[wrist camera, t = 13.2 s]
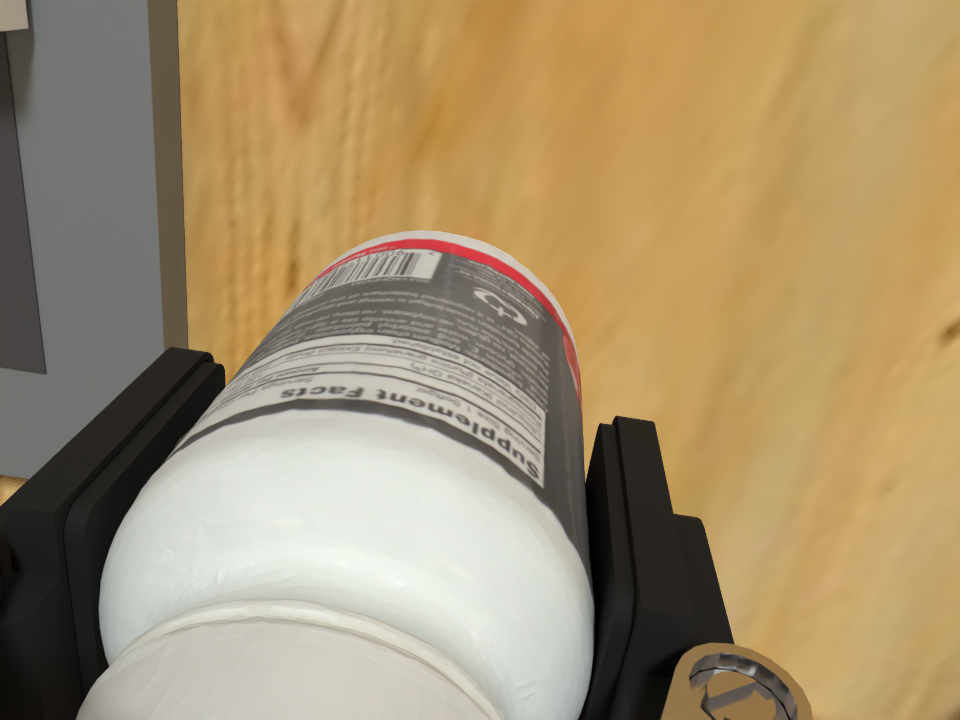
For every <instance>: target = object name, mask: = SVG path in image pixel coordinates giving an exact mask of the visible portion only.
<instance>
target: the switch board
mask: <svg viewBox="0 0 960 720" xmlns="http://www.w3.org/2000/svg"><path fill="white" fill-rule="evenodd" d="M25 2H26V11H27V20H28V28H27V29H18V30H9V31H0V474H1V475H7V476H13V477H19V478H25V479H30V478H31V477H32V476H33V475H34V474H35V473H36V472H37V471H38V470H40V469H41V468H42V467H43V466H44V465H45V464H46V463H47V462H48V461H49V460H50V459H51V458H52V457H53V456H54V455H55V454H56V453H58V452H59V451H60V450H61V449H62V448H63V447H64V446H65V445H66V444H67V443H68V442H69V441H70V440H71V439H72V438H73V437H74V436H76V435H77V434H78V433H79V432H80V431H81V430H82V429H83V428H84V427H85V426H86V425H87V424H88V423H89V422H91V421H92V420H93V419H94V418H95V417H96V416H97V415H98V414H99V413H100V412H101V411H102V410H103V409H104V408H105V407H106V406H107V405H109V404H110V403H111V402H112V401H113V400H114V399H115V398H116V397H117V396H118V395H119V394H120V393H121V392H122V391H123V390H124V389H125V388H127V387H128V386H129V385H130V384H131V383H132V382H133V381H134V380H135V379H136V378H137V377H138V376H139V375H140V374H141V373H142V372H143V371H145V370H146V369H147V368H148V367H149V366H150V365H151V364H152V363H153V362H154V361H155V360H156V359H157V358H158V357H159V356H160V355H161V354H163V353H164V352H165V351H166V350H167V349H168V348H170V347H177V348H183V349H188V332H187V301H186V271H185V240H184V210H183V179H182V149H181V118H180V88H179V57H178V27H177V0H25Z"/></svg>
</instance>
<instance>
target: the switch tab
mask: <svg viewBox="0 0 960 720" xmlns="http://www.w3.org/2000/svg"><path fill="white" fill-rule="evenodd" d="M27 28H28V20H27V11H26V2H25V0H0V31H9V30H18V29H27Z"/></svg>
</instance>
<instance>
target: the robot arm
mask: <svg viewBox="0 0 960 720" xmlns="http://www.w3.org/2000/svg"><path fill="white" fill-rule="evenodd" d="M224 388H225V369H224V366H223V365H222V364H217V363H214V359H213V356H212V355H211V353H209V352H202V351H196V350H189V349H183V348H177V347H170V348H168V349H167V350H166V351H165V352H164V353H163V354H161V355H160V356H159V357H158V358H157V359H156V360H155V361H154V362H153V363H152V364H151V365H150V366H149V367H148V368H147V369H146V370H145V371H143V372H142V373H141V374H140V375H139V376H138V377H137V378H136V379H135V380H134V381H133V382H132V383H131V384H130V385H129V386H128V387H127V388H125V389H124V390H123V391H122V392H121V393H120V394H119V395H118V396H117V397H116V398H115V399H114V400H113V401H112V402H111V403H110V404H109V405H107V406H106V407H105V408H104V409H103V410H102V411H101V412H100V413H99V414H98V415H97V416H96V417H95V418H94V419H93V420H92V421H91V422H89V423H88V424H87V425H86V426H85V427H84V428H83V429H82V430H81V431H80V432H79V433H78V434H77V435H76V436H74V437H73V438H72V439H71V440H70V441H69V442H68V443H67V444H66V445H65V446H64V447H63V448H62V449H61V450H60V451H59V452H58V453H56V454H55V455H54V456H53V457H52V458H51V459H50V460H49V461H48V462H47V463H46V464H45V465H44V466H43V467H42V468H41V469H40V470H38V471H37V472H36V473H35V474H34V475H33V476H32V477H31V478H30V479H29V480H28V481H27V482H26V483H25V484H24V485H23V486H22V487H20V488H19V489H18V490H17V491H16V492H15V493H14V494H13V495H12V496H11V497H10V498H9V499H8V500H7V501H6V502H5V503H4V504H2V505H1V506H0V720H76V718H77V715H78V712H79V709H80V708H81V706H82V704H83V702H84V700H85V698H86V696H87V695H88V693H89V691H90V689H91V688H92V686H93V685H94V683H95V682H96V680H97V679H98V678H99V677H100V676H101V675H102V674H103V673H104V672H105V671H106V670H107V669H108V668H109V664H108V661H107V659H106V656H105V651H104V647H103V642H102V637H101V631H100V621H99V599H100V585H101V578H102V573H103V569H104V565H105V562H106V559H107V555H108V552H109V549H110V546H111V544H112V542H113V539H114V537H115V535H116V532H117V530H118V528H119V526H120V524H121V523H122V521H123V519H124V517H125V515H126V514H127V512H128V511H129V509H130V508H131V506H132V505H133V503H134V501H135V500H136V498H137V496H138V495H139V493H140V491H141V489H142V488H143V487H144V485H145V484H146V483H147V482H148V480H149V479H150V478H151V476H152V475H153V474H154V473H155V472H156V471H157V470H158V469H159V468H160V467H161V466H162V464H163V463H164V462H165V460H166V459H167V458H168V457H169V455H170V454H171V453H172V452H173V450H174V448H175V446H176V444H177V442H178V441H179V439H180V438H181V437H182V436H184V435H185V434H186V433H187V432H188V431H189V430H191V429H192V428H193V426H194V425H195V424H196V423H197V421H198V420H199V419H200V418H201V416H202V415H203V414H204V413H205V412H206V410H207V409H208V408H209V407H210V405H211V404H212V402H213V401H214V400H215V398H216V397H217V396H218V395H219V394H220V393H221V392H222V391H223V390H224ZM585 488H586V507H587V522H588V533H589V547H590V560H591V569H592V581H593V594H594V601H595V608H596V620H595V637H594V655H593V664H592V672H591V679H590V684H589V689H588V693H587V696H586V699H585V702H584V705H583V708H582V711H581V714H580V716H579V718H578V720H813V718H812V711H811V705H810V703H809V701H808V699H807V697H806V695H805V694H804V692H803V690H802V688H801V687H800V686H799V685H798V683H797V682H796V681H795V680H794V679H793V678H792V677H791V675H790V674H789V673H788V672H787V671H785V670H784V669H783V668H781V667H780V666H779V665H777V664H776V663H775V662H773V661H772V660H771V659H769V658H767V657H765V656H763V655H761V654H759V653H757V652H755V651H753V650H751V649H748V648H744V647H741V646H737V645H735V644H734V641H733V637H732V633H731V629H730V625H729V621H728V617H727V614H726V610H725V606H724V602H723V598H722V594H721V590H720V587H719V583H718V579H717V575H716V571H715V567H714V563H713V560H712V556H711V552H710V548H709V544H708V540H707V536H706V532H705V529H704V526H703V523H702V521H701V520H700V519H699V518H697V517H691V516H685V515H678V514H673V509H672V505H671V500H670V495H669V490H668V485H667V481H666V476H665V471H664V466H663V461H662V456H661V452H660V447H659V442H658V437H657V432H656V428H655V424H654V422H652V421H646V420H640V419H633V418H627V417H621V416H615V418H614V420H613V422H612V425H609V424H602V423H600V424H599V426H598V429H597V433H596V438H595V442H594V447H593V451H592V456H591V460H590V465H589V469H588V474H587V478H586V483H585Z"/></svg>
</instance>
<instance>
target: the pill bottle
mask: <svg viewBox="0 0 960 720" xmlns="http://www.w3.org/2000/svg"><path fill="white" fill-rule="evenodd" d="M595 620H596V608H595V601H594V594H593V581H592V569H591V560H590V547H589V533H588V522H587V507H586V488H585V471H584V439H583V420H582V394H581V380H580V371H579V361H578V354H577V348H576V344H575V339H574V336H573V333H572V331H571V328H570V325H569V323H568V321H567V319H566V317H565V315H564V313H563V311H562V308H561V307H560V305H559V303H558V302H557V300H556V299H555V298H554V296H553V295H552V294H551V292H550V291H549V290H548V288H547V287H546V286H545V285H544V284H543V283H542V282H541V281H540V280H539V279H538V278H537V277H536V276H535V275H534V274H533V273H532V272H531V271H530V270H528V269H527V268H525V267H524V266H523V265H521V264H520V263H518V262H517V261H516V260H515V259H514V258H513V257H512V256H511V255H509V254H507V253H505V252H503V251H501V250H500V249H498V248H496V247H494V246H492V245H490V244H487V243H485V242H483V241H479V240H475V239H472V238H469V237H465V236H461V235H456V234H451V233H446V232H440V231H425V230H417V231H406V232H400V233H395V234H390V235H386V236H382V237H379V238H375V239H372V240H369V241H367V242H365V243H363V244H361V245H359V246H357V247H355V248H353V249H351V250H349V251H347V252H346V253H344V254H343V255H341V256H340V257H338V258H337V259H336V260H334V261H333V262H332V263H331V264H329V265H328V266H327V267H326V268H325V269H324V270H323V271H321V272H320V273H319V274H318V275H317V276H316V277H315V278H314V280H313V281H312V282H311V283H310V284H309V285H308V286H307V287H306V288H305V289H304V290H303V292H302V293H301V294H300V295H299V296H298V297H297V298H296V300H295V301H294V302H293V303H292V305H291V306H290V307H289V308H288V310H287V311H286V312H285V314H284V315H283V316H282V317H281V319H280V320H279V322H278V323H277V324H276V325H275V326H274V327H273V328H272V330H271V331H270V332H269V333H268V334H267V335H266V337H265V338H264V339H263V341H262V342H261V343H260V345H259V346H258V347H257V348H256V349H255V351H254V352H253V353H252V354H251V355H250V356H249V358H248V359H247V360H246V362H245V363H244V364H243V366H242V367H241V368H240V369H239V371H238V372H237V373H236V374H235V376H234V377H233V378H232V380H231V381H230V382H229V383H228V385H227V386H226V387H225V388H224V390H223V391H222V392H221V393H220V394H219V395H218V396H217V397H216V398H215V400H214V401H213V402H212V404H211V405H210V407H209V408H208V409H207V410H206V412H205V413H204V414H203V415H202V416H201V418H200V419H199V420H198V421H197V423H196V424H195V425H194V426H193V428H192V429H191V430H189V431H188V432H187V433H186V434H185V435H184V436H182V437H181V438H180V439H179V441H178V442H177V444H176V446H175V448H174V450H173V452H172V453H171V454H170V455H169V457H168V458H167V459H166V460H165V462H164V463H163V464H162V466H161V467H160V468H159V469H158V470H157V471H156V472H155V473H154V474H153V475H152V476H151V478H150V479H149V480H148V482H147V483H146V484H145V485H144V487H143V488H142V489H141V491H140V493H139V495H138V496H137V498H136V500H135V501H134V503H133V505H132V506H131V508H130V509H129V511H128V512H127V514H126V515H125V517H124V519H123V521H122V523H121V524H120V526H119V528H118V530H117V532H116V535H115V537H114V539H113V542H112V544H111V546H110V549H109V552H108V555H107V559H106V562H105V565H104V569H103V573H102V578H101V585H100V599H99V621H100V631H101V637H102V642H103V647H104V651H105V656H106V659H107V661H108V664H109V668H108V669H107V670H106V671H105V672H104V673H103V674H102V675H101V676H100V677H99V678H98V679H97V680H96V682H95V683H94V685H93V686H92V688H91V689H90V691H89V693H88V695H87V696H86V698H85V700H84V702H83V704H82V706H81V708H80V709H79V712H78V715H77V718H76V720H578V718H579V716H580V714H581V711H582V708H583V705H584V702H585V699H586V696H587V693H588V689H589V684H590V679H591V672H592V664H593V655H594V637H595Z"/></svg>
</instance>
